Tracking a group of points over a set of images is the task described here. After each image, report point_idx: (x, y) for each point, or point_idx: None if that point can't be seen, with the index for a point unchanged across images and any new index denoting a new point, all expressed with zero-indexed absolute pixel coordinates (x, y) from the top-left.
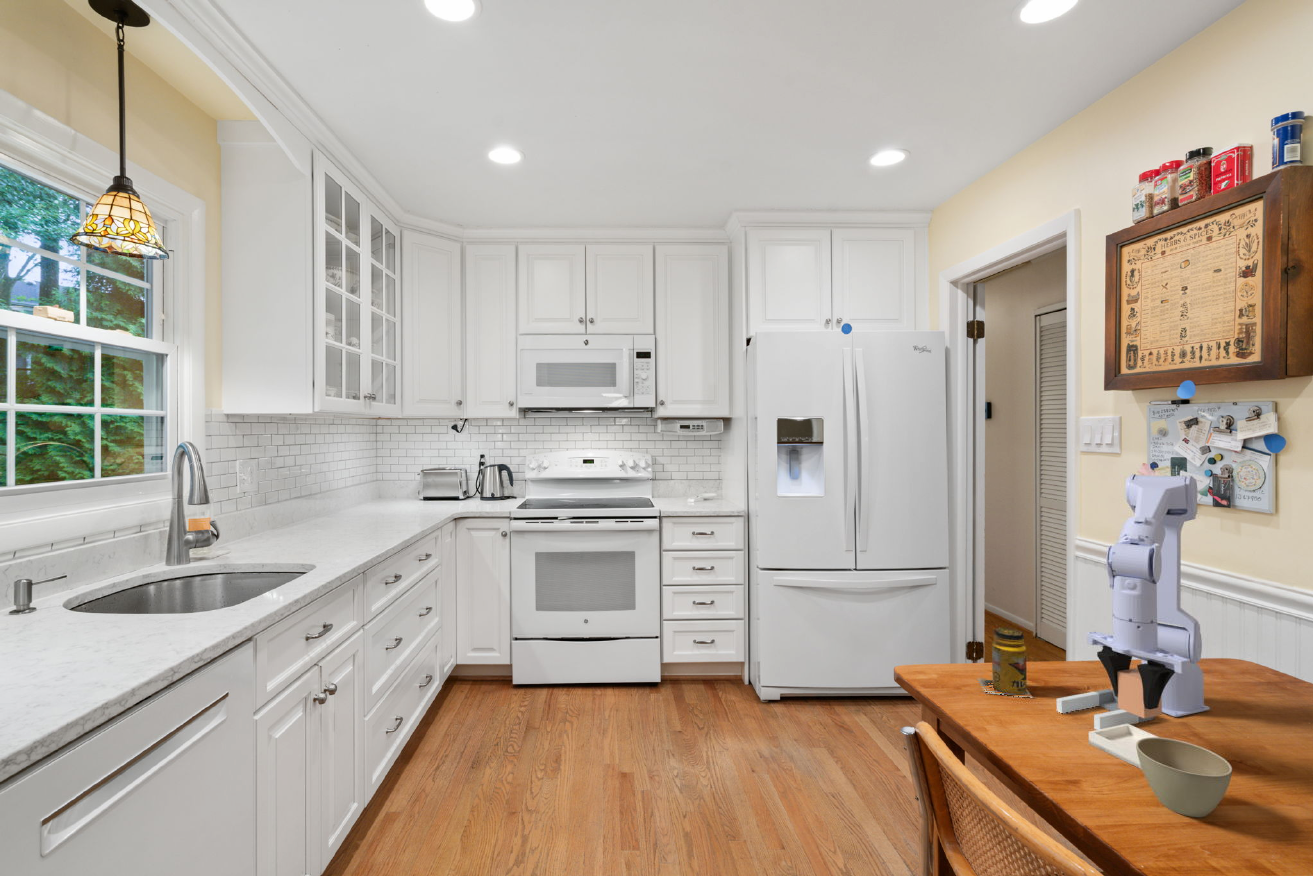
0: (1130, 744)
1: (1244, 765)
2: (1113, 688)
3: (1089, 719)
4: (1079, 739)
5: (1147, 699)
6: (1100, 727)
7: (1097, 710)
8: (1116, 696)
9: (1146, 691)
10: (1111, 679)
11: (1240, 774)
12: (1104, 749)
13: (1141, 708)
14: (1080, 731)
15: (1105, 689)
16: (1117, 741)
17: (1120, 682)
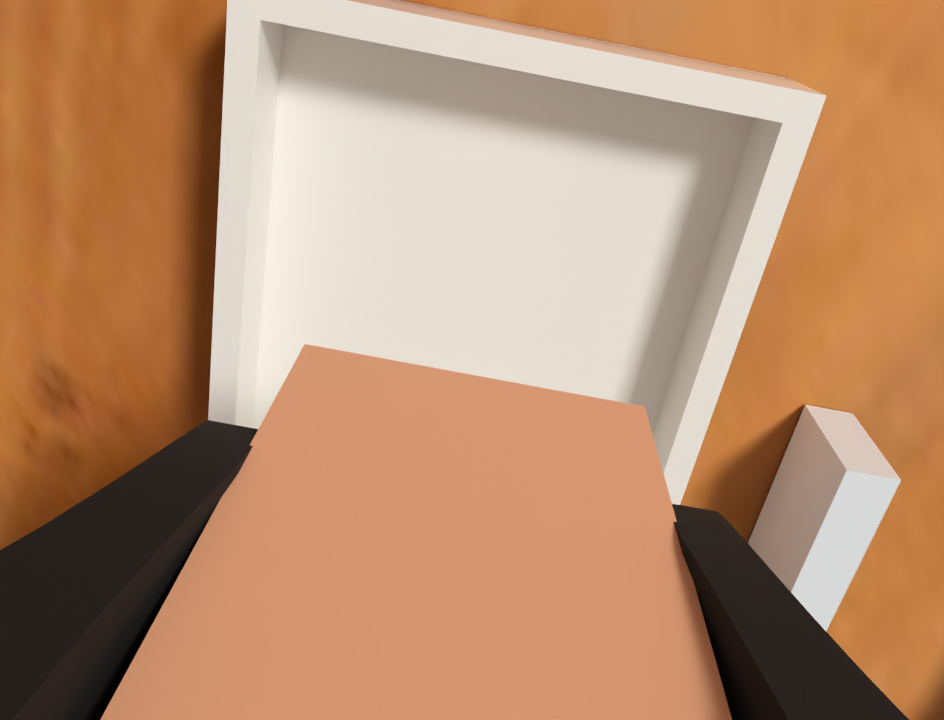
0: (541, 321)
1: None
2: (766, 575)
3: (929, 539)
4: (877, 96)
5: (126, 484)
6: (812, 427)
7: (929, 710)
8: (698, 512)
9: (32, 570)
10: (857, 703)
11: (21, 519)
12: (643, 50)
13: (307, 406)
14: (919, 270)
15: None
16: (625, 286)
17: (668, 701)
